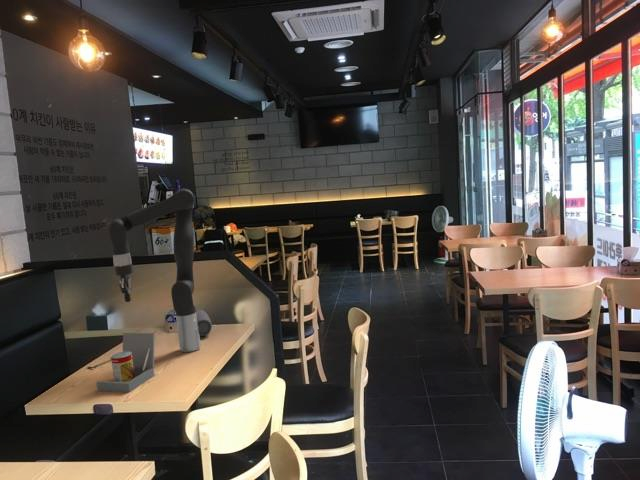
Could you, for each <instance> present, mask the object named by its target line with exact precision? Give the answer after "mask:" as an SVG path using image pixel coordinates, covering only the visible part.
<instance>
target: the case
mask: <svg viewBox="0 0 640 480" xmlns="http://www.w3.org/2000/svg"><path fill="white" fill-rule="evenodd" d="M122 334H123V335H122V352H123V351H130V352H132V359H133V366H134V373H135V378H134V379H132V380H131V381H129V382H114V381H101V380H99V381H96V382H95V383H96V388H97V389H96V390H97V391H98V392H121V393H131V392H132V391H134V390H135V389H137V388H138V387H140V386H141V385H143V384H144V383H146V382H147V381H149V380H150V379H152V378H153V377H155V370H154V368H155V339H156V337H155V335H156V334H155V332H153V333H152V332H123V333H122Z"/></svg>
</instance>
